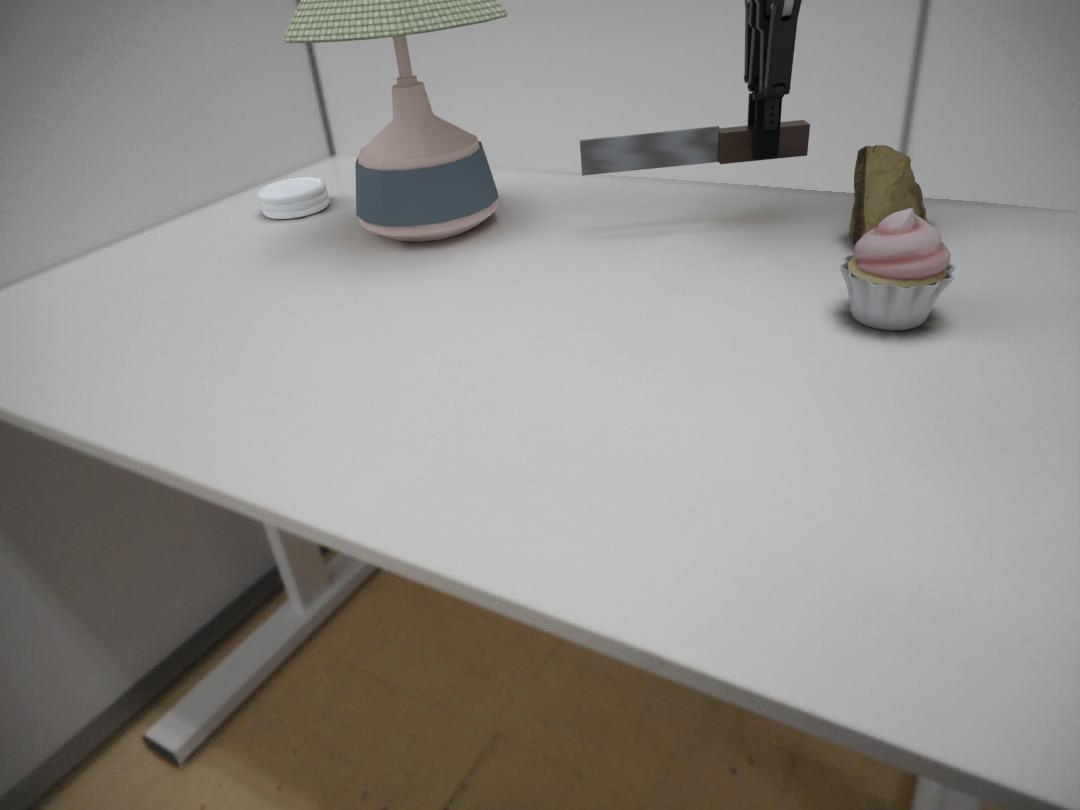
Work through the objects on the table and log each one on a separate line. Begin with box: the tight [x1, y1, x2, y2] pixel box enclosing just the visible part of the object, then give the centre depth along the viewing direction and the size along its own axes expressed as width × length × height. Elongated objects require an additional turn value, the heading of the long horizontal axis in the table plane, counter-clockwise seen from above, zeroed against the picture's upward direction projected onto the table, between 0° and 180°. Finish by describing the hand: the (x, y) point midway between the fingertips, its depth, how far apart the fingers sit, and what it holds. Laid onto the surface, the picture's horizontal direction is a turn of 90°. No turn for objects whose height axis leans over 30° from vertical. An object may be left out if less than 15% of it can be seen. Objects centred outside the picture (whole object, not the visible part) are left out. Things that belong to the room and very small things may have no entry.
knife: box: [579, 119, 811, 176], centre depth 86 cm, size 26×2×4 cm, turn 90°
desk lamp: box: [282, 0, 509, 243], centre depth 89 cm, size 26×28×42 cm
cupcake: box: [838, 208, 957, 331], centre depth 65 cm, size 9×9×10 cm
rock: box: [848, 144, 928, 246], centre depth 81 cm, size 11×9×10 cm
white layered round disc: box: [257, 176, 331, 220], centre depth 111 cm, size 10×10×4 cm
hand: (761, 153), depth 87 cm, fingers closed on knife, 2 cm apart
